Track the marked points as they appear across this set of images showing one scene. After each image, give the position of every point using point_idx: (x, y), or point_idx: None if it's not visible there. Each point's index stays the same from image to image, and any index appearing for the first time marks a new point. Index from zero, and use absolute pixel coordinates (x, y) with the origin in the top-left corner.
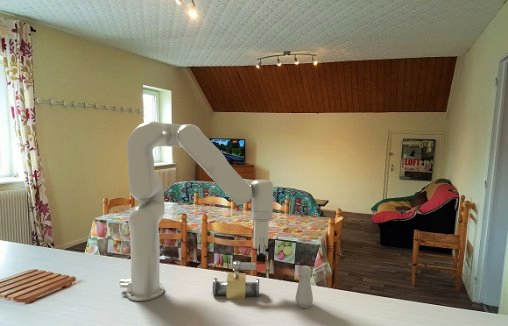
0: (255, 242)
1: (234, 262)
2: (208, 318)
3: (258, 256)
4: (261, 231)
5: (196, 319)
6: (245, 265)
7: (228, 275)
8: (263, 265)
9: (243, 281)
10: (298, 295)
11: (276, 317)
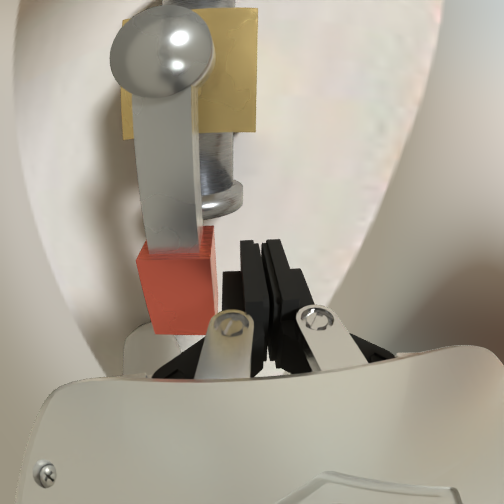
0: (22, 478)
1: (154, 25)
2: (26, 34)
3: (243, 304)
4: None
5: (26, 4)
6: (137, 148)
7: (212, 13)
8: (151, 309)
9: (122, 127)
10: (129, 350)
11: (63, 255)
